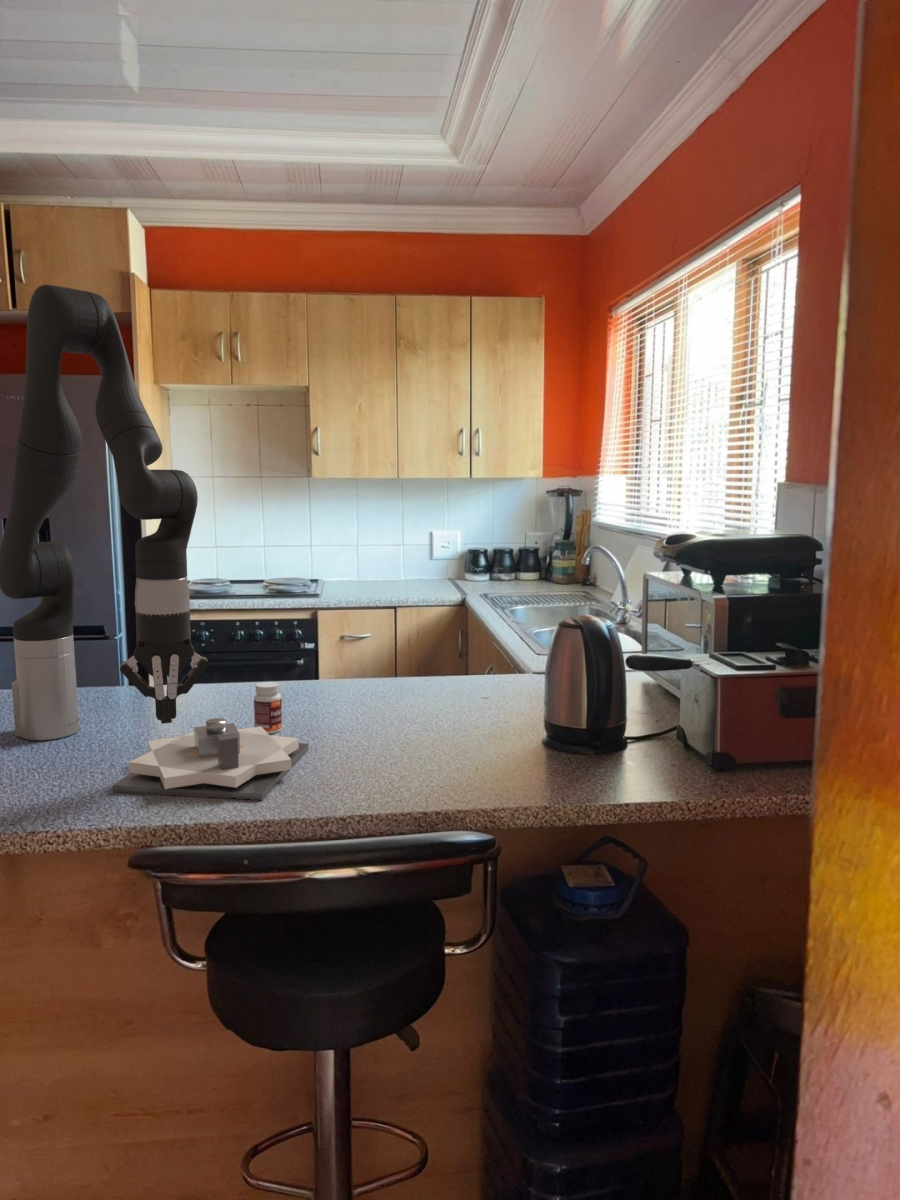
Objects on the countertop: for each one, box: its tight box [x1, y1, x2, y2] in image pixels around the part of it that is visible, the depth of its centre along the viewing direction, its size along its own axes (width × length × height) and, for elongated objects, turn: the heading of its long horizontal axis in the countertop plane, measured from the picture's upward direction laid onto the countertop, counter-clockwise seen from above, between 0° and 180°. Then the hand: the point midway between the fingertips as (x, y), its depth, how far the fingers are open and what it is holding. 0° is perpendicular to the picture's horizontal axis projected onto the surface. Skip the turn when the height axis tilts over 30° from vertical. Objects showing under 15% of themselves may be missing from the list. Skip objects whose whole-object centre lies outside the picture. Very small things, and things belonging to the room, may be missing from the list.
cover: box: [193, 717, 240, 758], centre depth 127 cm, size 6×6×4 cm
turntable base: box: [112, 742, 309, 801], centre depth 128 cm, size 22×22×1 cm
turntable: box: [128, 726, 299, 789], centre depth 127 cm, size 26×26×6 cm
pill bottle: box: [253, 681, 283, 735], centre depth 147 cm, size 5×5×8 cm
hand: (166, 721), depth 124 cm, fingers closed
